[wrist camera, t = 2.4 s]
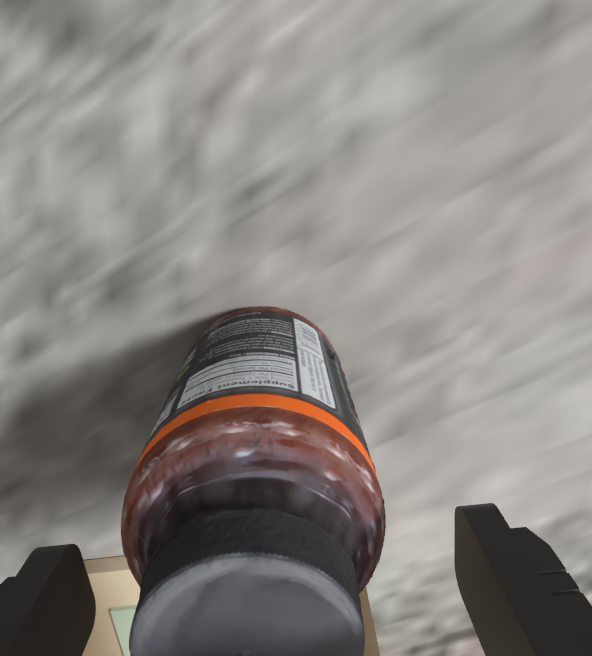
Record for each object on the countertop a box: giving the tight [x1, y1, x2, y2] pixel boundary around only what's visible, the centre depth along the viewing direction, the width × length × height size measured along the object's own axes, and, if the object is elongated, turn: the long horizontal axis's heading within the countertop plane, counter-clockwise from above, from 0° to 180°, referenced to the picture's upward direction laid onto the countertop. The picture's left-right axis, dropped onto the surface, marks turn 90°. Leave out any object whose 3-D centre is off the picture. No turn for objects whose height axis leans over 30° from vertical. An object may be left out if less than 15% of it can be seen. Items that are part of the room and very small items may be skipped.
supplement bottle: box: [121, 306, 386, 656], centre depth 13 cm, size 6×6×11 cm
